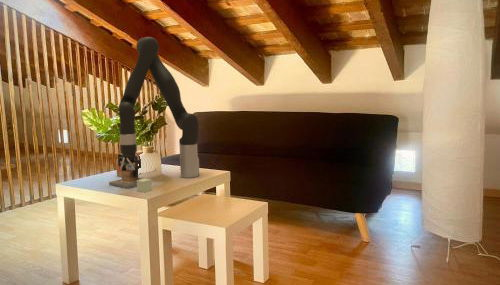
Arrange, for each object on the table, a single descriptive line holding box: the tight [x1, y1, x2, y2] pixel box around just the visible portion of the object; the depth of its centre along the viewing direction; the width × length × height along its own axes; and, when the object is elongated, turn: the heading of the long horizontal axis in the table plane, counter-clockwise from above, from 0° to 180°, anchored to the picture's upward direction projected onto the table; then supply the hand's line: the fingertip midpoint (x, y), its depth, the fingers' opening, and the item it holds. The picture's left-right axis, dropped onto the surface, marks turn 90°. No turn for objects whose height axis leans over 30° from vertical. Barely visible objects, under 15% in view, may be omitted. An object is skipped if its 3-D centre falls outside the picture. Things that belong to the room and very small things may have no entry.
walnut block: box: [121, 169, 139, 183], centre depth 192 cm, size 6×6×5 cm
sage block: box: [136, 178, 153, 193], centre depth 179 cm, size 4×4×5 cm
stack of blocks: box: [115, 149, 156, 178], centre depth 216 cm, size 21×6×12 cm, turn 141°
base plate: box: [108, 177, 144, 190], centre depth 192 cm, size 14×14×2 cm
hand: (130, 176), depth 192 cm, fingers open, 8 cm apart
